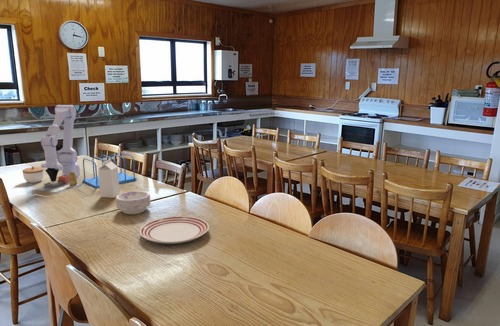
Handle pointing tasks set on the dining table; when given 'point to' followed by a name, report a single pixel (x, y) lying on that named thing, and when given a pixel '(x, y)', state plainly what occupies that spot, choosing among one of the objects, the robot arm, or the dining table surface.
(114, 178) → the milk carton
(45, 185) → the dome housing
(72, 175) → the tan rounded peg
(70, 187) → the board
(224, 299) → the dining table surface
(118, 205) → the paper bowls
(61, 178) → the die
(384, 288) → the dining table surface
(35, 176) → the lidded jar
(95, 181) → the file sorter
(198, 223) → the dinner plate
